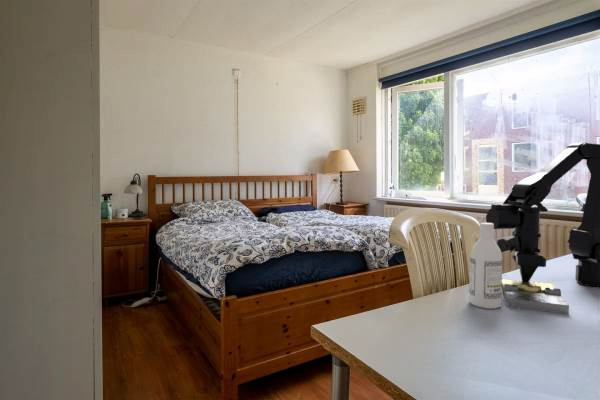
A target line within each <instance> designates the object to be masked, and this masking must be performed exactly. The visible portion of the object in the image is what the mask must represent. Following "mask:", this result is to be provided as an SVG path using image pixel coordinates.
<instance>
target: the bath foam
mask: <svg viewBox="0 0 600 400" xmlns="http://www.w3.org/2000/svg"><path fill="white" fill-rule="evenodd" d="M494 230H495V229H494V224H493V223H487V222H480V223H479V238H478V239H477V241H476V242H475V244H474V245H473V247H472V248H471V252H470V254H469V255H470V256H469V291H468V293H469V296H468V297H469V299H468V300H469V303H470V304H471V305H473V306H475V307H478V308H481V309H490V310H491V309H492V310H493V309H494V310H495V309H498V308H500V307H501V305H502V293H501V290H502V280H503V252H502V253H501V250H500V248H499V246H498V245H497V243H496V242H495V239H494V233H495V231H494Z"/></svg>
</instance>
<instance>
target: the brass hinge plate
mask: <svg viewBox="0 0 600 400" xmlns="http://www.w3.org/2000/svg"><path fill="white" fill-rule="evenodd" d="M504 284H513V285H518V291H522V292H532V293H542V294H544V290H545V288H556V287H555V286H554V285H553V283H551V284H549V283H547V282H546V283H545V282H535V281H534V282H532V281H529V282H524V281H522V280H510V279H502V294H504Z"/></svg>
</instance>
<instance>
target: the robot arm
mask: <svg viewBox="0 0 600 400" xmlns="http://www.w3.org/2000/svg"><path fill="white" fill-rule="evenodd" d="M583 160H585V161H586V166H587V169H588V172H589V173H590V178H589V182H588V187H587V193H586V198H585V203H584V207H583V211H582V218H581V224H580V225H579V226H578V227H577V228H576V229H573V228H571V229H570V231H569V238H568V240H567V241H566V242H567V243H568V248H569V250H570V251H571V255H572V257H573V259H574V260H578V262H577V263H578V264H577V265H575V280H576V281H577V282H578V283H579V284H580V285H582V286H589V287H592V286H593V287H599V288H600V143H591V142H590V143H589V142H584V141H583V142H574V143H571V144H568V145H567V146H566V148H565V150H563V151H562V152H561V153H560V154H559V155H557V156H556V157H555V158H554V159H553V160H551V161H550V162H549V163H547V164H546V165H545V166H544V167H543V168H541V170H539V171H538V172H536V173H535V174H533V175H530V176H528V177H525V178H523V179H522V180H520V181H518V182H515V184H514V185H513V186H512V188H511V192H510V193H509V195H508V196H507V197H506V198H505V200H504V201H503V203H502V204H497V203H494V204H492V203H491V204H490V208H489V209H488V210H487V213H486V215H485V221H486V222H485V223H493V224H494V230H510V229H513V230H512V232H511V235H508V236H503V237H499V238H495V239H494V240H495V242H496V243H497V245H498V246H499V248H500V250H501V253H502V254H503V252H508V251H509V253H513V252H515V254H514V255H511V256H512V259H513V261H514V262H515V263H516V264H517V266H518V268H519V273H520V277H521V278H520V279H521V281H524V282H530V280H531V279H532V277H533V275H534V274H535V272H536V271H537V269H538V268H540V267H541V268H545V267H547V259H546V257H544V255H543V254H541V248H540V247H539V244H540V243H539V242H540V238H541V237H542V235H541V233H540V217H541V216H540V215H541V213H546V212H548V211H549V210H548V208H547V207H545V206H544V205H543V203H542V202H543V201H544V200H545V199H546V198H547V197H548V195H550V194H551V189H552V188H553V186H554V184H555V183H556V182H558V181H559V180H560V179H561V178H563V177H564V176H565V175H566V174H567V173H568V172H569V171H571V170H572V169H574V167H576V166H577V165H578V164H579V163H580V162H582V161H583Z"/></svg>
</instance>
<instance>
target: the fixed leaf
mask: <svg viewBox="0 0 600 400" xmlns="http://www.w3.org/2000/svg"><path fill="white" fill-rule="evenodd" d="M503 295H504V297H503V298H504V299H505V302H506V305H507V307H508V308H515V309H524V310H531V311H533V310H534V311H541V312H549V313H550V312H551V313H559V314H566V315H569V313H570V305H569V303H568V302H567V301H566V300H565V298H564V297H563V296H562V290H561V289H560V288H556V287H555V288H545V290H544V294H542V293H532V292H522V291H518V285H513V284H504V293H503Z"/></svg>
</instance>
